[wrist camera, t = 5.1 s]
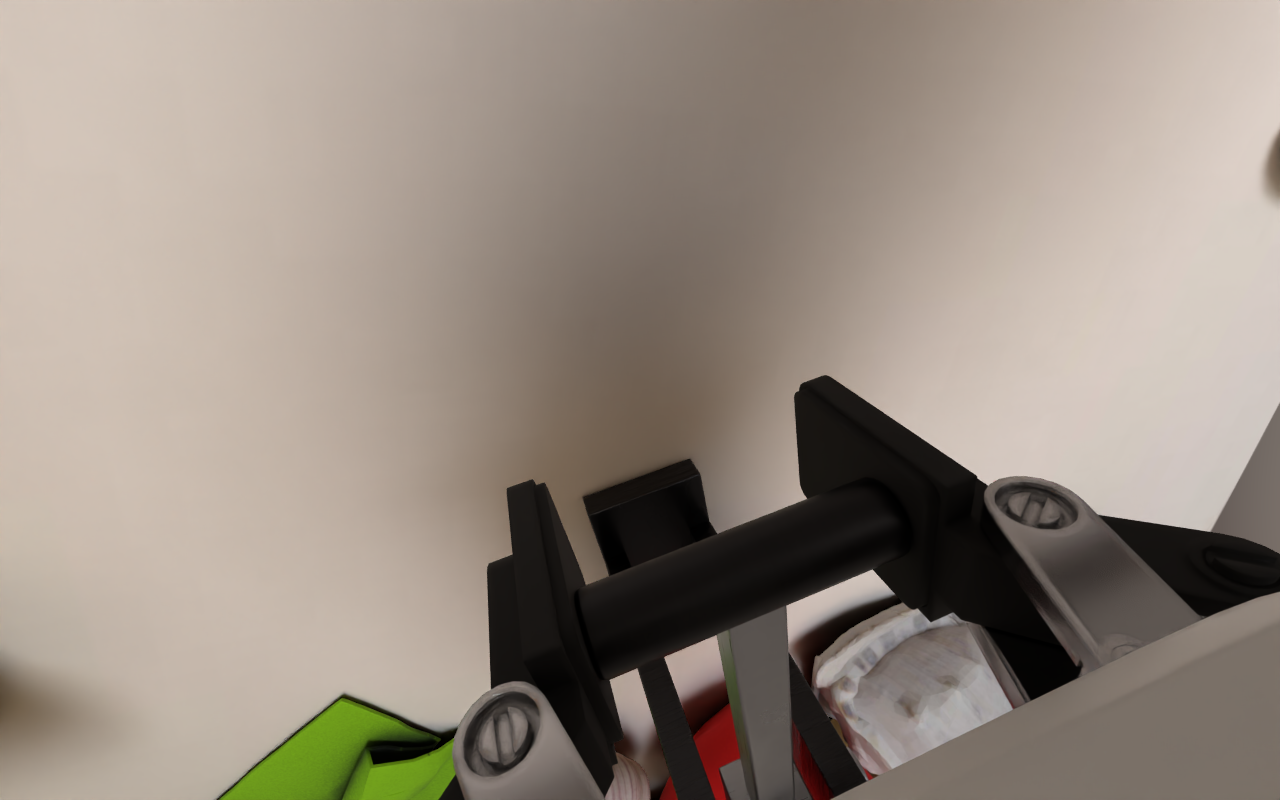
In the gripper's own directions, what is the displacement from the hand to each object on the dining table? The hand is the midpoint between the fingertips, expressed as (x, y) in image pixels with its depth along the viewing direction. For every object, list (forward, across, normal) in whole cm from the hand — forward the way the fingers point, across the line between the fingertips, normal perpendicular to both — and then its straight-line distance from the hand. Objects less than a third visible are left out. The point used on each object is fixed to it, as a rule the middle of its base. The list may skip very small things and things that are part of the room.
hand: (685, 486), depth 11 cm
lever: (-1, 0, +6) cm, 6 cm away
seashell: (+9, -13, +25) cm, 30 cm away
